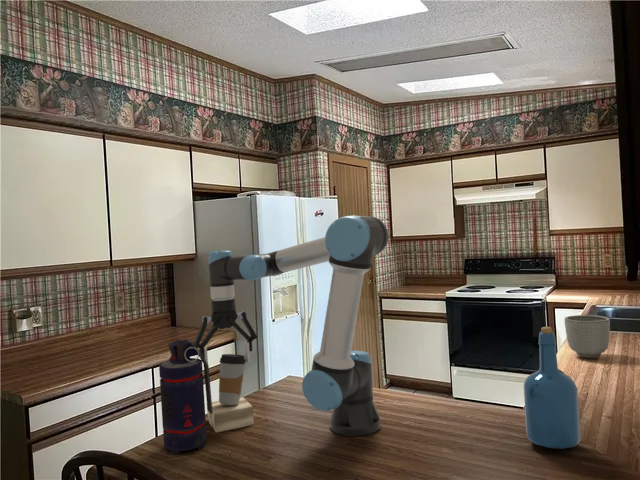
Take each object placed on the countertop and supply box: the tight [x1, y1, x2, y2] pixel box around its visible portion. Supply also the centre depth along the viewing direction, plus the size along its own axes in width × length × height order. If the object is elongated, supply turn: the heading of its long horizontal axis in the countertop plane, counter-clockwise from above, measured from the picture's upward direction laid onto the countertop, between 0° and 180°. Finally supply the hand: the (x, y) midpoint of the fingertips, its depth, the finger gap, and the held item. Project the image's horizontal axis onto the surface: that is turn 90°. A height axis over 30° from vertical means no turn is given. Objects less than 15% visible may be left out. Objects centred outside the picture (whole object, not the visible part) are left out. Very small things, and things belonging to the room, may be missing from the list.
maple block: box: [206, 396, 255, 433], centre depth 165 cm, size 12×12×6 cm
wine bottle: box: [523, 326, 581, 450], centre depth 136 cm, size 14×13×30 cm
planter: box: [564, 314, 611, 359], centre depth 221 cm, size 17×17×16 cm
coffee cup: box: [218, 353, 246, 405], centre depth 165 cm, size 8×8×15 cm
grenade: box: [158, 338, 213, 455], centre depth 147 cm, size 14×12×30 cm
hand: (227, 365), depth 164 cm, fingers open, 13 cm apart
